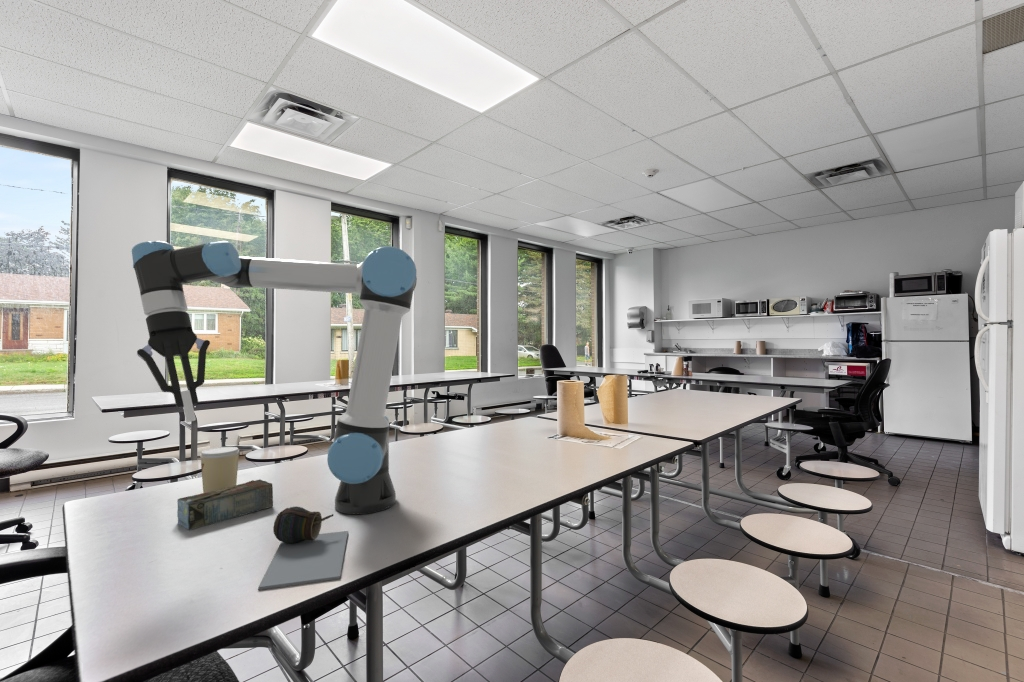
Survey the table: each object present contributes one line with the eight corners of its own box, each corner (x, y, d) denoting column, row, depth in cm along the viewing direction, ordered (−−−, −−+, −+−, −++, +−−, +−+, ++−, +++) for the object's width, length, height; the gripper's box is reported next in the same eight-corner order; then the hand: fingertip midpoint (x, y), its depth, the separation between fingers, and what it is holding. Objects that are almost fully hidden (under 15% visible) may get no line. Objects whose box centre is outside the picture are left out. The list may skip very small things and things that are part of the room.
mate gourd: (266, 524, 90) (316, 526, 90) (284, 497, 97) (331, 498, 97) (273, 551, 93) (321, 552, 93) (290, 522, 100) (335, 524, 100)
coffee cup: (212, 487, 132) (212, 446, 133) (245, 486, 133) (245, 446, 133) (192, 498, 123) (192, 454, 123) (228, 497, 124) (228, 453, 124)
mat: (347, 533, 100) (347, 530, 100) (339, 578, 80) (339, 576, 80) (283, 540, 96) (283, 537, 96) (258, 590, 77) (258, 587, 77)
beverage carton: (175, 523, 107) (175, 495, 107) (261, 501, 122) (261, 476, 122) (187, 532, 102) (187, 502, 102) (275, 507, 117) (275, 482, 117)
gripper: (201, 314, 105) (224, 414, 103) (128, 322, 96) (152, 430, 95) (204, 306, 99) (229, 411, 98) (127, 313, 90) (153, 429, 89)
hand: (191, 421), depth 96 cm, fingers closed
